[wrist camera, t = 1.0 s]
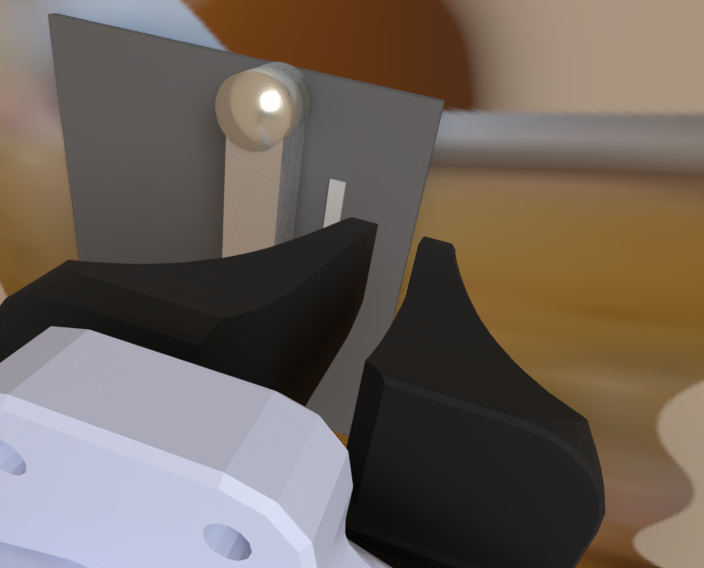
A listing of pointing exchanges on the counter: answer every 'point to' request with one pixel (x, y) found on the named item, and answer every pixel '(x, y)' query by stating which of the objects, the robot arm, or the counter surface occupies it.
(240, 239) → the lever
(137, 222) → the lock plate
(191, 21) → the counter surface
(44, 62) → the counter surface
